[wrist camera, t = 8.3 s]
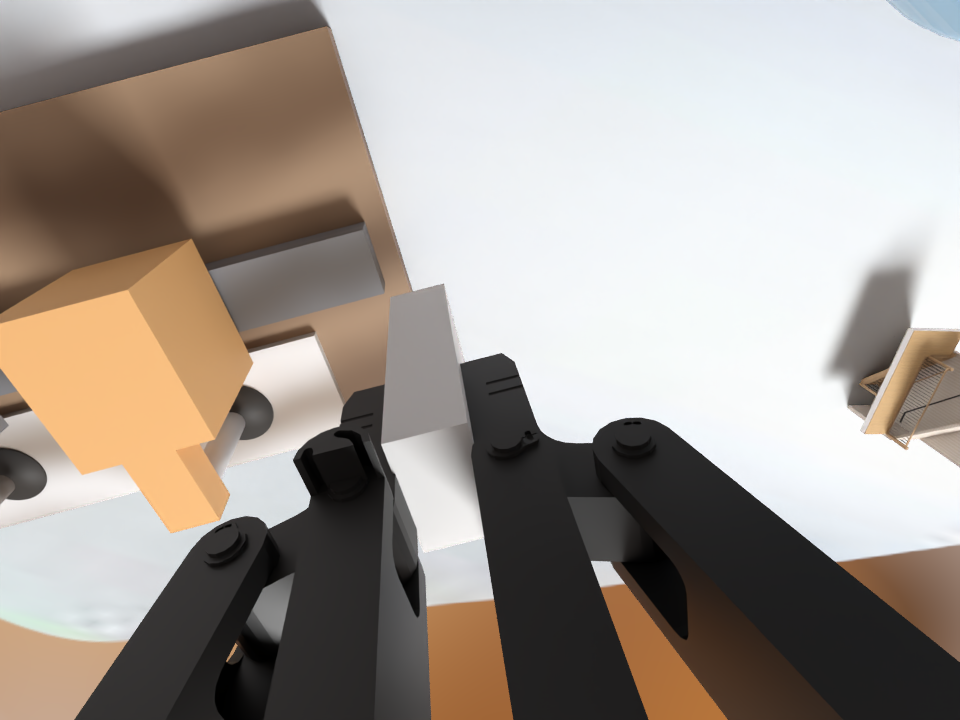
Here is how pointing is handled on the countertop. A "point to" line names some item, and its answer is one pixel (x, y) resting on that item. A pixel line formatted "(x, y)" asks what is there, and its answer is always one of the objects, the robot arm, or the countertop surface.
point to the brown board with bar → (208, 236)
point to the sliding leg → (136, 375)
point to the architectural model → (918, 393)
